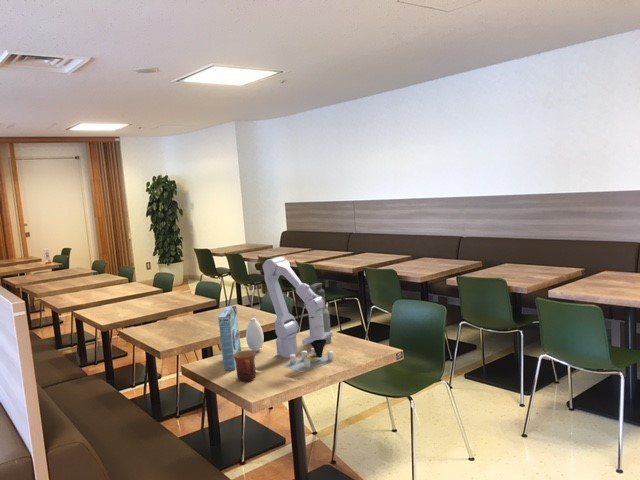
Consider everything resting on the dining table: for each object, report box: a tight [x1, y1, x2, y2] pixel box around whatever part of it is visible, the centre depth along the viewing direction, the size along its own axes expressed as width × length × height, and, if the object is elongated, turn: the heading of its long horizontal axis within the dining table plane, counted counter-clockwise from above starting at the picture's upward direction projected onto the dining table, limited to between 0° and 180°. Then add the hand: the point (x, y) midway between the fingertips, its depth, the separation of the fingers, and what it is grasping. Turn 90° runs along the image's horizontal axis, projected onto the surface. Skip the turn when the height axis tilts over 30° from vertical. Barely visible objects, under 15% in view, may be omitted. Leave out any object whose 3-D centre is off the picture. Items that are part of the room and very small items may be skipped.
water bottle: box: [307, 282, 332, 345], centre depth 242 cm, size 10×10×28 cm
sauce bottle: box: [245, 312, 265, 352], centre depth 238 cm, size 8×8×18 cm
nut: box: [307, 355, 318, 363], centre depth 216 cm, size 5×4×2 cm
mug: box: [233, 349, 257, 383], centre depth 202 cm, size 12×9×10 cm
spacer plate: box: [282, 347, 336, 373], centre depth 215 cm, size 13×18×4 cm
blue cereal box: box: [218, 305, 242, 371], centre depth 224 cm, size 19×5×23 cm, turn 0°
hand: (319, 356), depth 218 cm, fingers closed
